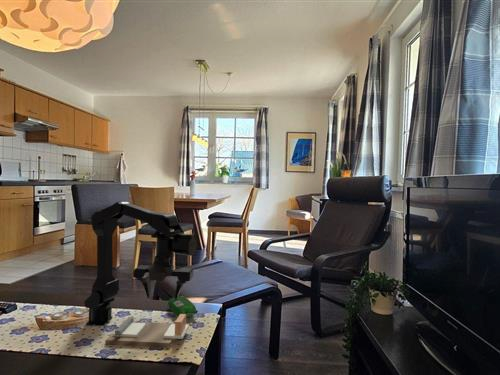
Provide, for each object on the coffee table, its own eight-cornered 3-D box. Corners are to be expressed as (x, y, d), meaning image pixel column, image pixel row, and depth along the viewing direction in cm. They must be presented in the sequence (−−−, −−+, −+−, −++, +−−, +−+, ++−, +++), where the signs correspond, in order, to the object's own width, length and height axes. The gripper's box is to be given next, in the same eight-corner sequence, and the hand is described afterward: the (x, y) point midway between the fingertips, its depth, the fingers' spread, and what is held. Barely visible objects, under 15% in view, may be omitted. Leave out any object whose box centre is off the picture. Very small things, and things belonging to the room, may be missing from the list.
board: (105, 344, 91) (105, 340, 91) (124, 325, 104) (124, 321, 104) (169, 347, 91) (169, 343, 91) (181, 327, 104) (181, 323, 104)
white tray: (111, 337, 93) (111, 330, 93) (125, 323, 103) (125, 316, 103) (136, 338, 93) (136, 331, 93) (148, 324, 103) (148, 317, 103)
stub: (163, 338, 93) (164, 322, 93) (171, 326, 101) (171, 312, 101) (182, 339, 93) (183, 323, 93) (188, 327, 101) (189, 312, 101)
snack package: (179, 324, 107) (180, 309, 107) (166, 308, 120) (166, 295, 120) (198, 320, 111) (198, 306, 111) (182, 305, 124) (183, 292, 124)
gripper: (126, 255, 92) (123, 306, 92) (186, 259, 91) (183, 310, 91) (141, 248, 103) (138, 293, 103) (194, 251, 102) (192, 297, 102)
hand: (162, 298), depth 99 cm, fingers open, 9 cm apart
